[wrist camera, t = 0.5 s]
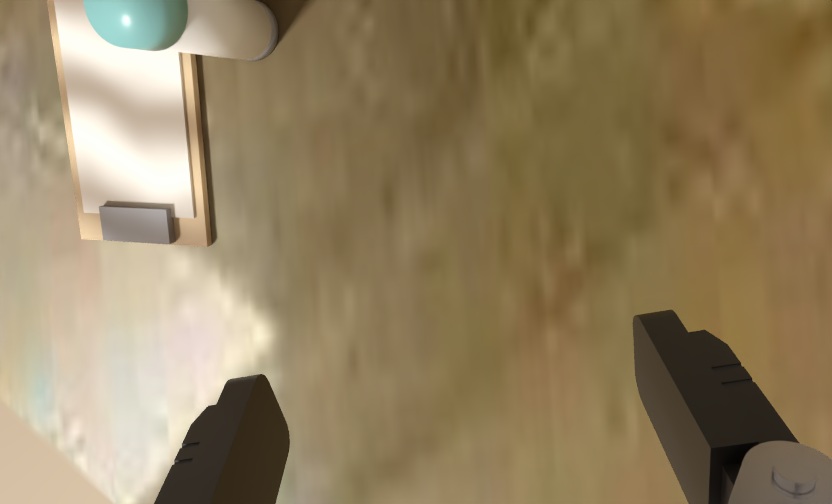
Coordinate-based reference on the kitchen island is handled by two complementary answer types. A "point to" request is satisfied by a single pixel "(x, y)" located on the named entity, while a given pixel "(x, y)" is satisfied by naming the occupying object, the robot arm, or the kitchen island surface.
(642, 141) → the kitchen island surface
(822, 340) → the kitchen island surface
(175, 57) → the clipboard
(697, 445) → the robot arm
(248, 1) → the bottle
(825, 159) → the kitchen island surface
